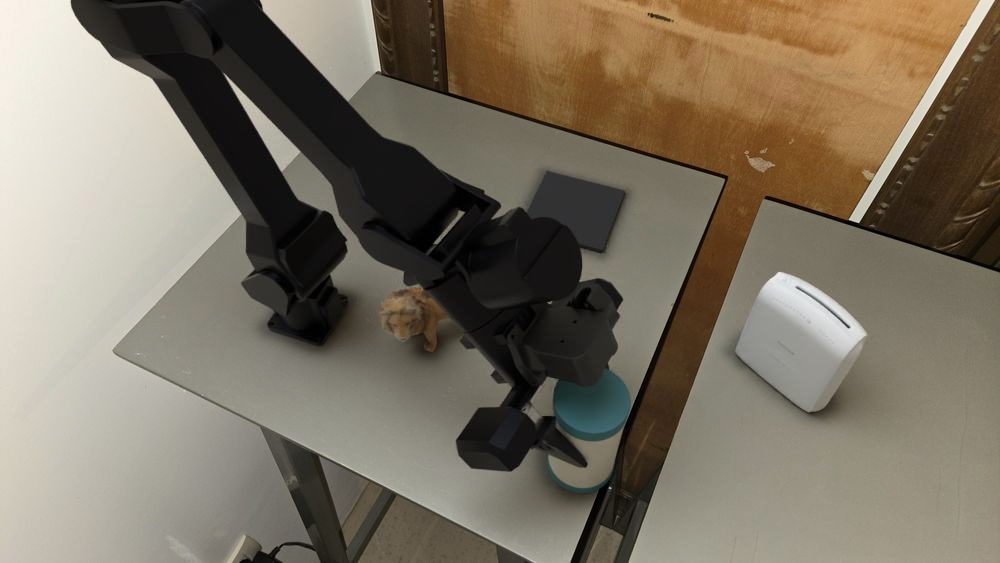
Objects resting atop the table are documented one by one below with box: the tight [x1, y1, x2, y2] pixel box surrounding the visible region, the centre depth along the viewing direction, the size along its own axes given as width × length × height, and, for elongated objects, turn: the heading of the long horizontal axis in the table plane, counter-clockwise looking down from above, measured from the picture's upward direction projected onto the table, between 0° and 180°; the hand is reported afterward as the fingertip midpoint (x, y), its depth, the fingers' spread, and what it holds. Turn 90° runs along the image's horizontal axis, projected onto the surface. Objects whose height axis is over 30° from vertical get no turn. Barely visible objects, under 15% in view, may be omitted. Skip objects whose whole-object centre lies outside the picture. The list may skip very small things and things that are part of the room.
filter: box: [546, 368, 632, 494], centre depth 65 cm, size 6×6×12 cm
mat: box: [526, 170, 626, 254], centre depth 89 cm, size 10×10×1 cm
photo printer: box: [734, 271, 868, 413], centre depth 71 cm, size 10×4×12 cm, turn 39°
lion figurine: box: [378, 286, 450, 353], centre depth 76 cm, size 15×5×9 cm, turn 122°
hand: (600, 436), depth 64 cm, fingers closed on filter, 6 cm apart
